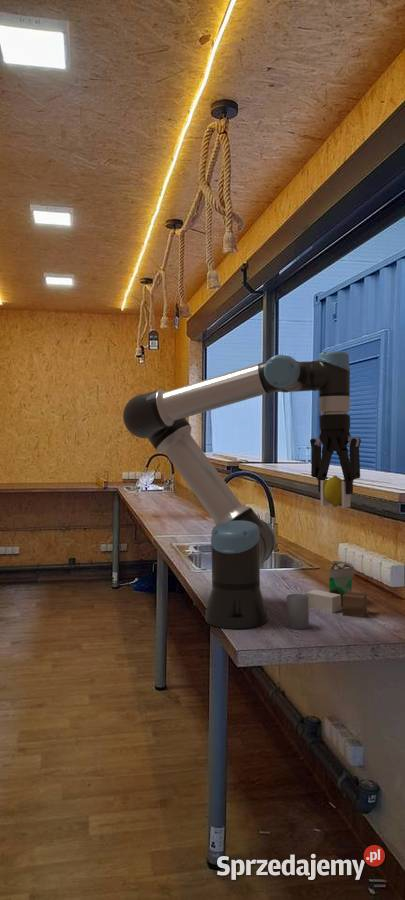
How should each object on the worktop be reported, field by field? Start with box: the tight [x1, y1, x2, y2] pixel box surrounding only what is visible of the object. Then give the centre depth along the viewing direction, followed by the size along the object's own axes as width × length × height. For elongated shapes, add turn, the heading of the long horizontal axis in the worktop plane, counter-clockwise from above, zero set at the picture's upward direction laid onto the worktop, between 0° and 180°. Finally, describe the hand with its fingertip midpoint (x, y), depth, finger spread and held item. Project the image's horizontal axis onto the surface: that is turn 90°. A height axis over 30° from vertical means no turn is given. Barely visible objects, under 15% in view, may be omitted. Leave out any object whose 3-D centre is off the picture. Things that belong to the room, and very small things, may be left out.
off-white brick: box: [305, 589, 342, 614], centre depth 163 cm, size 4×8×4 cm, turn 45°
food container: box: [328, 560, 356, 607], centre depth 168 cm, size 12×6×10 cm, turn 163°
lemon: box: [324, 475, 343, 508], centre depth 159 cm, size 6×6×8 cm
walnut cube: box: [342, 591, 368, 619], centre depth 158 cm, size 5×5×5 cm
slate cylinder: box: [286, 593, 310, 631], centre depth 148 cm, size 5×5×7 cm
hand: (335, 506), depth 159 cm, fingers closed on lemon, 5 cm apart
